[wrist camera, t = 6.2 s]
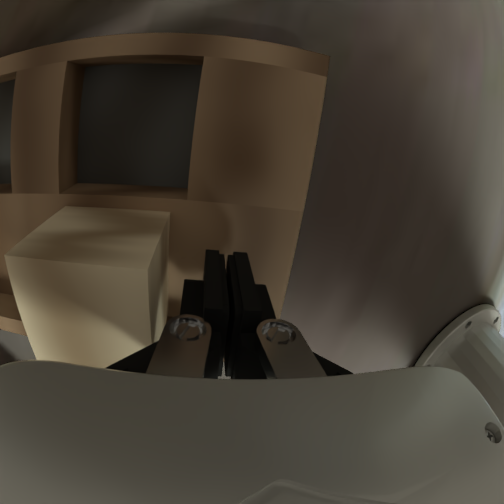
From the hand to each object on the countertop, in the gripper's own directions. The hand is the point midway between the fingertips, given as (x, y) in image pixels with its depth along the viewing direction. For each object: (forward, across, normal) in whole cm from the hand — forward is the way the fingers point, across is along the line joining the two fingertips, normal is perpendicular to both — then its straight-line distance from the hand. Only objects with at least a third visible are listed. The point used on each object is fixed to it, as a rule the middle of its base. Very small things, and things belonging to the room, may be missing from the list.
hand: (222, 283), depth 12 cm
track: (+4, +9, -3) cm, 10 cm away
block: (+2, +5, 0) cm, 5 cm away
